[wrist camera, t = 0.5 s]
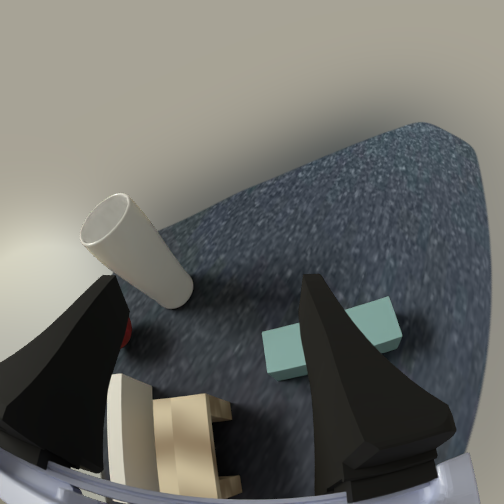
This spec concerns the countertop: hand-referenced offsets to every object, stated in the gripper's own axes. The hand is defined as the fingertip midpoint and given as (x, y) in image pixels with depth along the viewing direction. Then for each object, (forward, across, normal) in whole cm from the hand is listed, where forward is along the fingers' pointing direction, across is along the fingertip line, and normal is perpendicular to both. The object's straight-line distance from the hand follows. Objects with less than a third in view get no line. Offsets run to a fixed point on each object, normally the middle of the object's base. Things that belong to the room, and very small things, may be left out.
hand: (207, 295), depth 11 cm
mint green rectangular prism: (+9, -9, +16) cm, 21 cm away
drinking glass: (+19, +8, +19) cm, 28 cm away
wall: (+1, +10, +25) cm, 27 cm away
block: (0, +3, +22) cm, 23 cm away
